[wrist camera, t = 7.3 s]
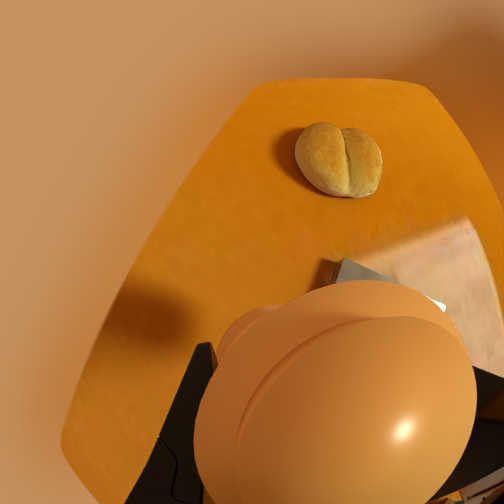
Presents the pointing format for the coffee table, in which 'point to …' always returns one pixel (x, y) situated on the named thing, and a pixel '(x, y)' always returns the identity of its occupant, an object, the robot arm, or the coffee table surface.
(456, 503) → the light bulb
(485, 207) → the coffee table surface
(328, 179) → the bread roll
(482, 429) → the robot arm
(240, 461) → the tapered peach knob
